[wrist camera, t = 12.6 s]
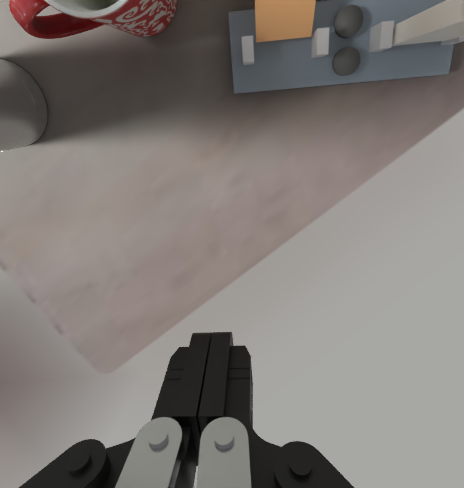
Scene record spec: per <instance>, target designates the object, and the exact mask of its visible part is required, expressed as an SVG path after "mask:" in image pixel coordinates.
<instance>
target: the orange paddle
mask: <svg viewBox="0 0 464 488" xmlns="http://www.w3.org/2000/svg"><path fill="white" fill-rule="evenodd" d="M315 3H316V0H255V24H256V42H265V41H275V40H284V39H294V38H304V37H311V35H312V27H313V19H314V11H315Z"/></svg>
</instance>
